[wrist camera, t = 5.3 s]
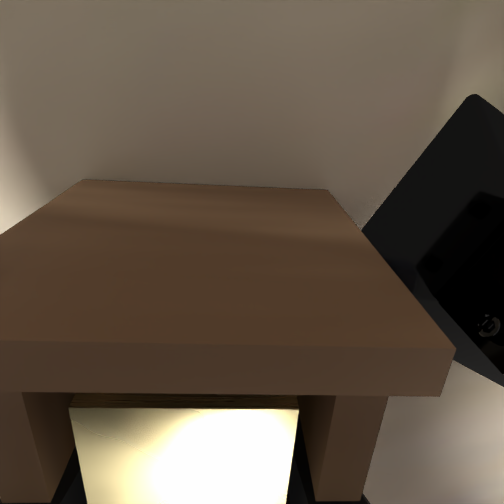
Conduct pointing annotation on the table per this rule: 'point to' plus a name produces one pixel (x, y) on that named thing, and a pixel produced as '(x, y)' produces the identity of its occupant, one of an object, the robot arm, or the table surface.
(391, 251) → the black recessed box
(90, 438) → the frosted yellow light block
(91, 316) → the socket
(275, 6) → the table surface
